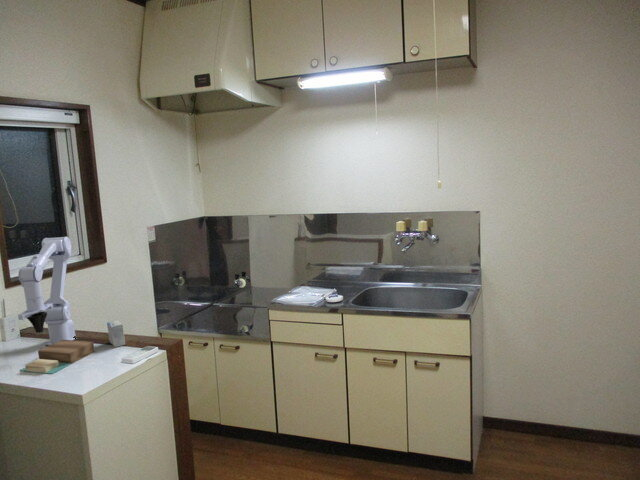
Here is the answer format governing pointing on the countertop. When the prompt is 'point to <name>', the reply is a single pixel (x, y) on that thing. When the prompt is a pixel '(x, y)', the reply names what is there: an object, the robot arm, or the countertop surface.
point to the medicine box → (116, 333)
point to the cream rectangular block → (42, 365)
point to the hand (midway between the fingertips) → (39, 332)
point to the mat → (61, 366)
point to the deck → (67, 351)
